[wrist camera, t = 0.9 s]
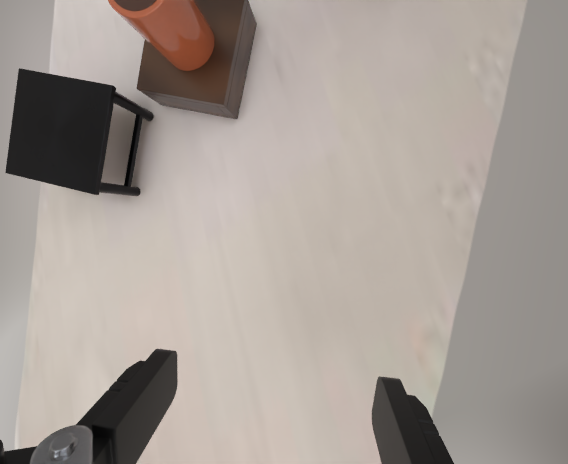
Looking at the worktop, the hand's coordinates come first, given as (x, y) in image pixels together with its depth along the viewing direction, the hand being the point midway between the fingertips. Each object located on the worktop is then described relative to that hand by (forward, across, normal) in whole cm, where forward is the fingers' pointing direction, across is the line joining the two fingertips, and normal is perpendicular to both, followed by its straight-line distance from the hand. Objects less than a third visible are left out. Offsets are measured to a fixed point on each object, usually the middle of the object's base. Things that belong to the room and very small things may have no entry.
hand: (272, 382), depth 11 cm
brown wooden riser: (+30, +14, -20) cm, 39 cm away
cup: (+26, +14, -21) cm, 36 cm away
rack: (+30, +27, -9) cm, 42 cm away
